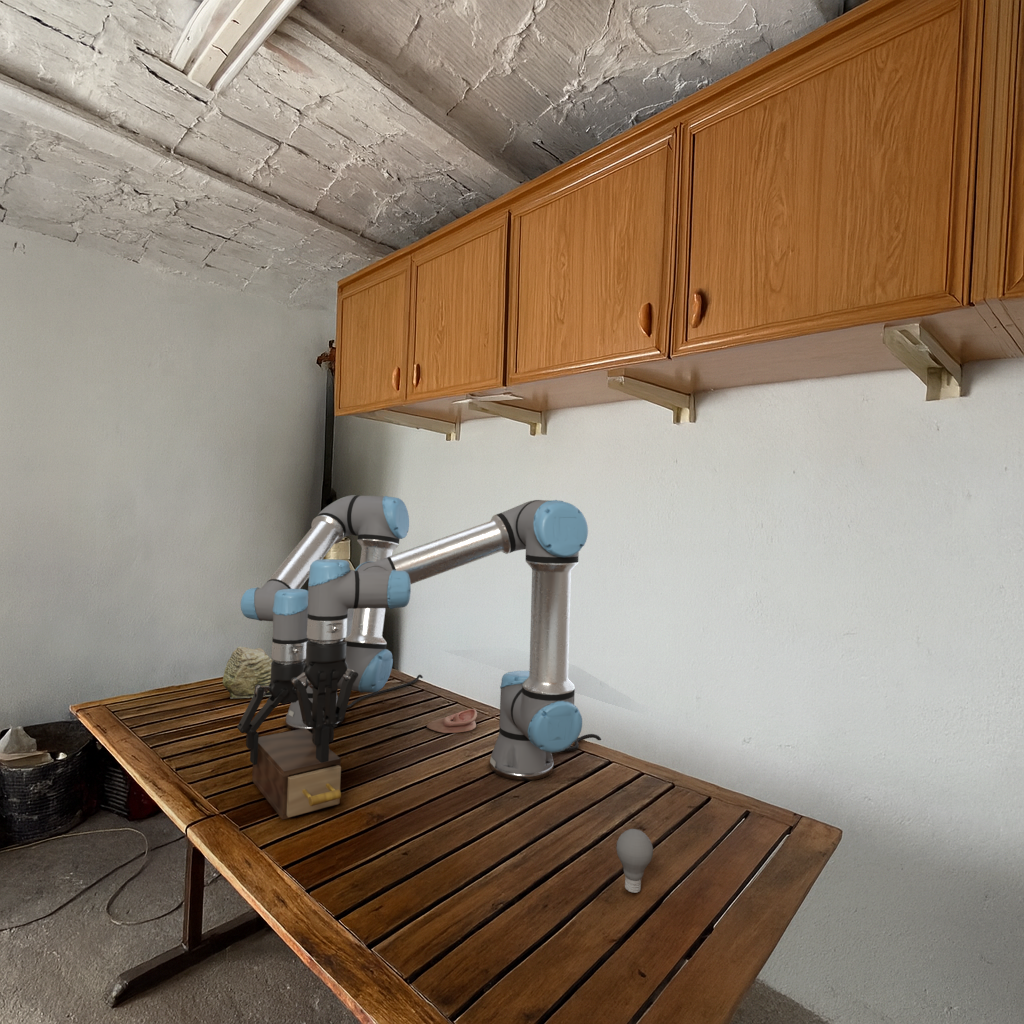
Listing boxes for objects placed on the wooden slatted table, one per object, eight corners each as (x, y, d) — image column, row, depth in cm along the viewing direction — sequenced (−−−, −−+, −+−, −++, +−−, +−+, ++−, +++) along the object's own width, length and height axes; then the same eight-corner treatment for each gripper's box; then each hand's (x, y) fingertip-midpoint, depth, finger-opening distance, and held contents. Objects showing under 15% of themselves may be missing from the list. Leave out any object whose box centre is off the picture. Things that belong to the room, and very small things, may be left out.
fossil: (218, 695, 195) (220, 647, 195) (278, 685, 208) (279, 640, 207) (228, 703, 189) (230, 653, 188) (289, 692, 201) (290, 645, 201)
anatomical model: (423, 716, 174) (436, 703, 185) (422, 730, 174) (436, 716, 185) (470, 721, 171) (480, 708, 182) (469, 736, 171) (480, 722, 182)
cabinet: (338, 804, 131) (340, 758, 131) (282, 820, 124) (284, 771, 123) (304, 769, 147) (305, 727, 147) (252, 781, 140) (253, 737, 139)
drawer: (351, 815, 125) (352, 777, 125) (298, 830, 118) (300, 790, 118) (306, 770, 144) (307, 737, 144) (259, 780, 138) (260, 746, 137)
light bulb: (610, 879, 108) (613, 822, 108) (644, 879, 109) (647, 822, 109) (619, 902, 102) (622, 840, 102) (655, 901, 103) (658, 840, 103)
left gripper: (234, 671, 129) (230, 774, 129) (350, 657, 144) (346, 749, 144) (224, 662, 135) (220, 762, 135) (337, 650, 150) (333, 739, 150)
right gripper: (300, 647, 116) (295, 774, 117) (366, 639, 124) (361, 759, 125) (286, 638, 122) (282, 760, 123) (350, 632, 130) (345, 746, 131)
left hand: (285, 756), depth 140 cm, fingers open, 13 cm apart
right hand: (322, 759), depth 124 cm, fingers closed
